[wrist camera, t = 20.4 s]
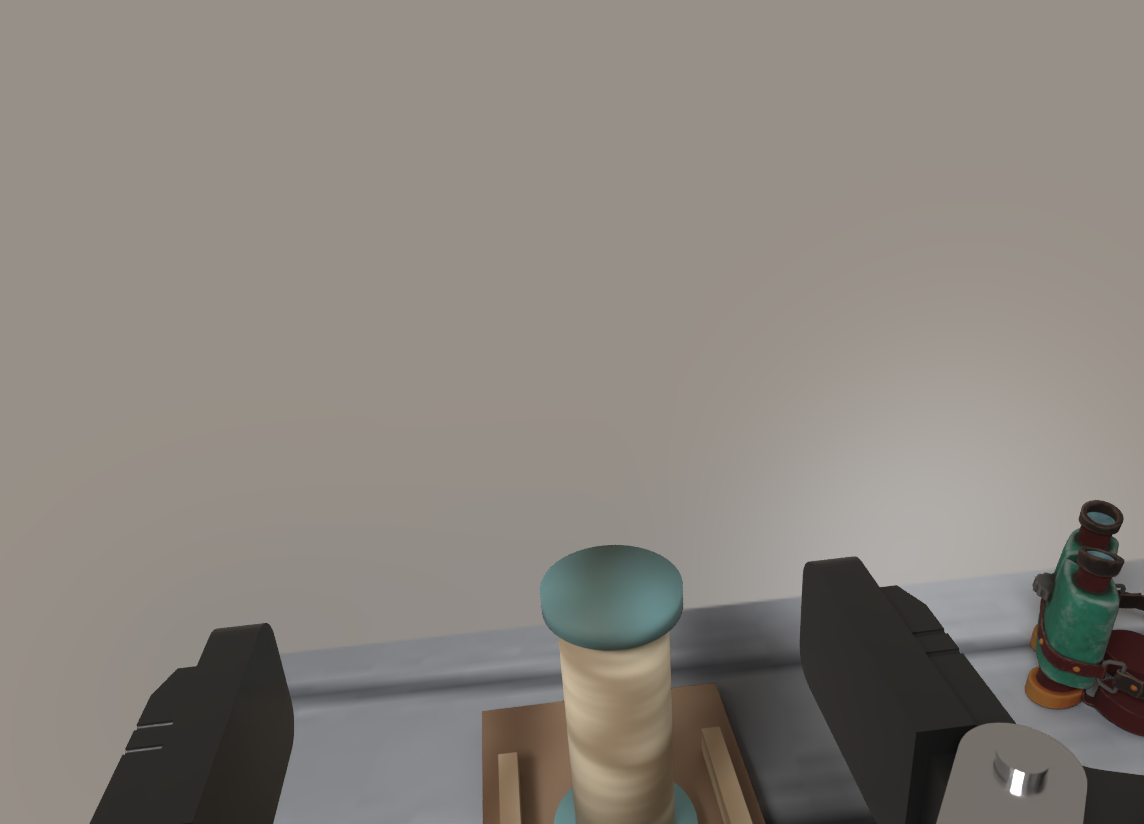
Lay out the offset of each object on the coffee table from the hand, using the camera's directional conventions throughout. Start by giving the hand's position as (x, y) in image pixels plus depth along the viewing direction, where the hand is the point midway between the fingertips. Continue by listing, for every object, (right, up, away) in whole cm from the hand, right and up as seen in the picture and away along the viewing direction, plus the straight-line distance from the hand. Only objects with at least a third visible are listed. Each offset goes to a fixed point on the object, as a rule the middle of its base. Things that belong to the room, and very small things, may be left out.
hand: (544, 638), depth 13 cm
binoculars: (+32, -13, +39) cm, 52 cm away
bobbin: (+3, -18, +30) cm, 35 cm away
